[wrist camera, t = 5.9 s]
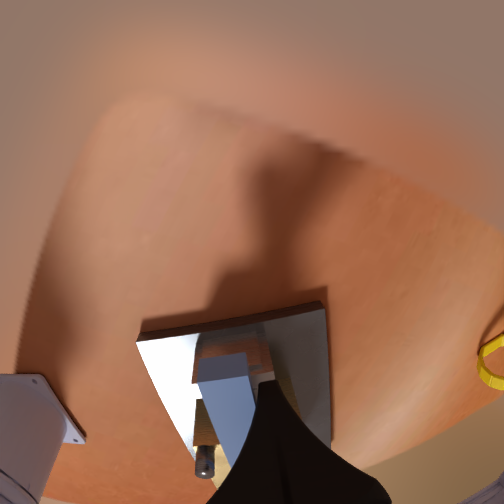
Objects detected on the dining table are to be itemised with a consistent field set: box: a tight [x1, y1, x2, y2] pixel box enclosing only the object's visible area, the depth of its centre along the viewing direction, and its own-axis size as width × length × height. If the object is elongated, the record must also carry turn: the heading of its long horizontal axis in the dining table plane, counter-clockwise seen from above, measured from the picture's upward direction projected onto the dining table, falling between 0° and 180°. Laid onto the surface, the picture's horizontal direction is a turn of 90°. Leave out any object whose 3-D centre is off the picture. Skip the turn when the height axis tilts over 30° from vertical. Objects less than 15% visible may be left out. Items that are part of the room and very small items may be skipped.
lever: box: [197, 352, 257, 468], centre depth 13 cm, size 11×3×2 cm, turn 9°
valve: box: [136, 301, 331, 489], centre depth 17 cm, size 11×15×7 cm
